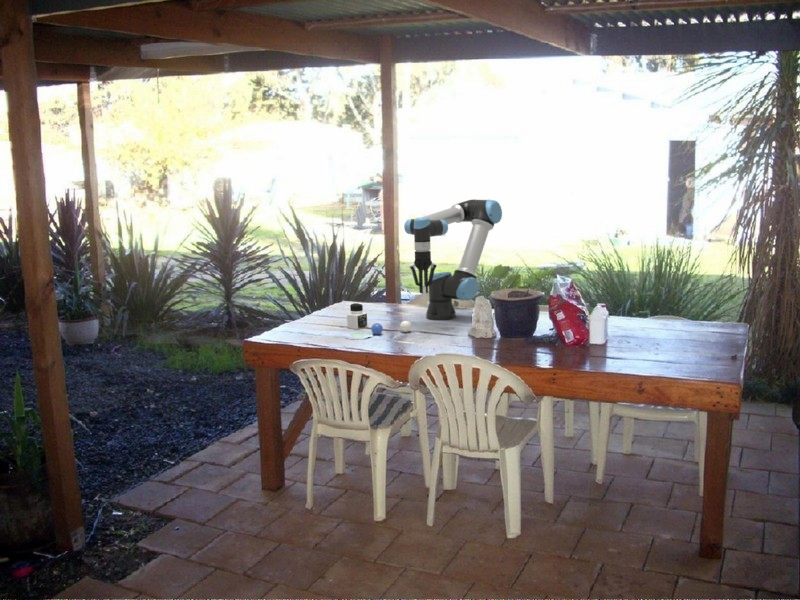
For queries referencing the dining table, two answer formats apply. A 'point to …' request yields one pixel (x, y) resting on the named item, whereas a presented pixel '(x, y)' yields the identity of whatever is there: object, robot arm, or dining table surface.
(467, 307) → the dining table surface
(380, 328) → the object ball
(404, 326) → the cue ball
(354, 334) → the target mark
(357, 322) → the medicine bottle
